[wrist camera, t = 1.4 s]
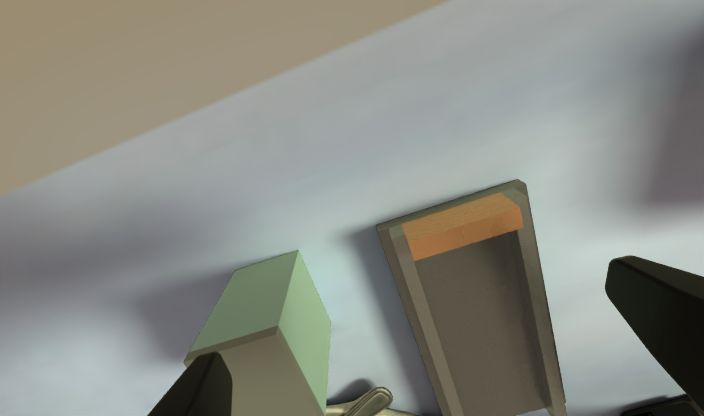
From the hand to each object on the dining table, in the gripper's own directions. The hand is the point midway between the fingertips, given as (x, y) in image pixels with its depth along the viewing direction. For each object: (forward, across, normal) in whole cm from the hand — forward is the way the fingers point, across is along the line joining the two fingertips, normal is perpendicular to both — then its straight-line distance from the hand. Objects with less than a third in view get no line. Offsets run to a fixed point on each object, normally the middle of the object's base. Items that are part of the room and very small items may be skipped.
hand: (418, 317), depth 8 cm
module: (+14, +6, +9) cm, 18 cm away
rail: (+12, -6, +14) cm, 19 cm away
